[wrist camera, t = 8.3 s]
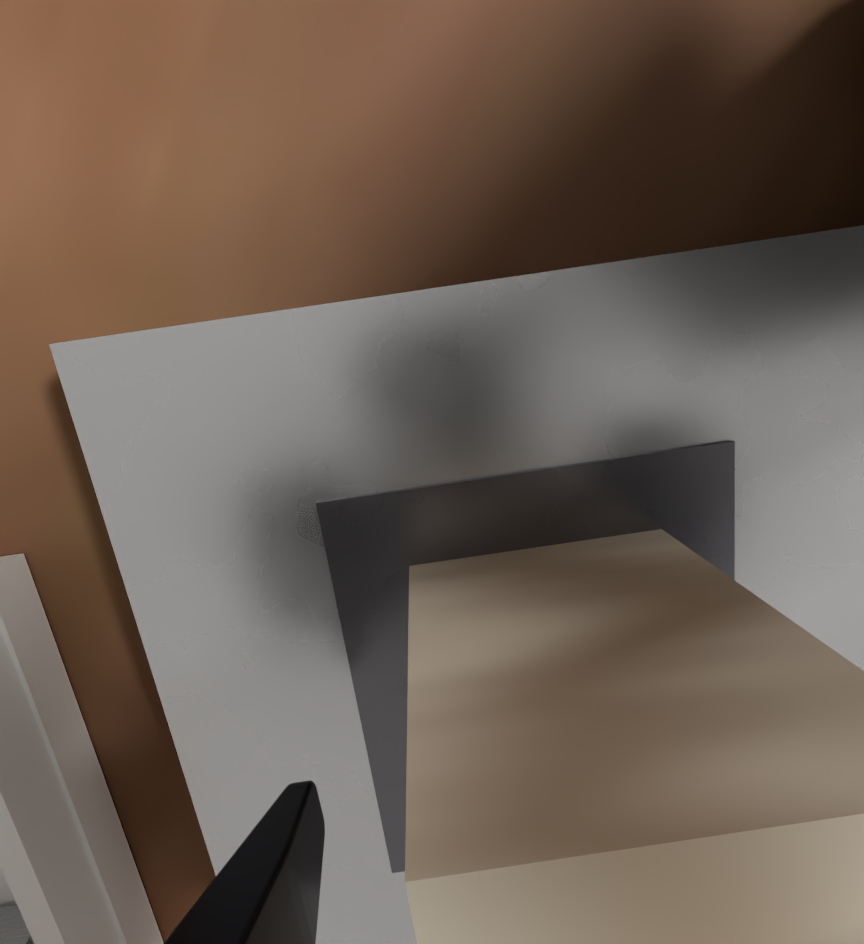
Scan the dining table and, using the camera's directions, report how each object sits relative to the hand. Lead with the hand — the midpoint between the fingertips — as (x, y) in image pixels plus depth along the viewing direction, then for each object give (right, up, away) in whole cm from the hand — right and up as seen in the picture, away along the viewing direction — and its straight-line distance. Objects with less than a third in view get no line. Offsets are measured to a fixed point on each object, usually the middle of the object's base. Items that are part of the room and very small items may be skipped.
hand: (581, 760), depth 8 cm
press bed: (0, +1, +3) cm, 4 cm away
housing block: (0, 0, +2) cm, 2 cm away
